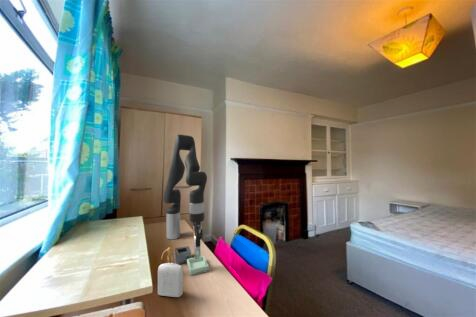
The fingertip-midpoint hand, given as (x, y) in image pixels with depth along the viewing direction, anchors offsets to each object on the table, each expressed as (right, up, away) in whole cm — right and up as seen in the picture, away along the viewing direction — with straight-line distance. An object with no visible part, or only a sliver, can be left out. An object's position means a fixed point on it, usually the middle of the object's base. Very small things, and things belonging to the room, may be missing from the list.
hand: (197, 244), depth 100 cm
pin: (0, -7, 0) cm, 7 cm away
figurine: (-12, -12, -4) cm, 17 cm away
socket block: (-10, -11, +8) cm, 17 cm away
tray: (0, -11, 0) cm, 11 cm away
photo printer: (-7, -12, -19) cm, 24 cm away
